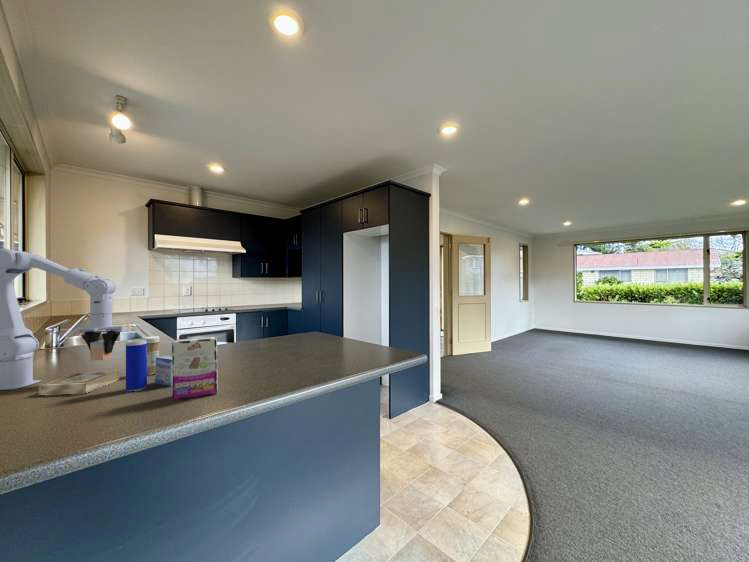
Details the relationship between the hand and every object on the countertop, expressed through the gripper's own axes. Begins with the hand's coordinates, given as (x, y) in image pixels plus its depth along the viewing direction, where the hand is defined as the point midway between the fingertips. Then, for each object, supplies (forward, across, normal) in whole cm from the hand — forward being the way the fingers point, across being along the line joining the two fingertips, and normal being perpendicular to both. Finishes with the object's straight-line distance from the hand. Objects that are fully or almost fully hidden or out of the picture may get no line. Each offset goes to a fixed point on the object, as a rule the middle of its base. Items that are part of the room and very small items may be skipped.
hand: (101, 353), depth 105 cm
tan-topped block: (+2, 0, 0) cm, 2 cm away
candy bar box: (+9, +41, -20) cm, 46 cm away
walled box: (+9, +1, -9) cm, 13 cm away
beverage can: (+9, +20, -13) cm, 25 cm away
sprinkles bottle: (+9, +14, +4) cm, 17 cm away
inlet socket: (+9, +1, -9) cm, 13 cm away
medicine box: (+9, +27, -8) cm, 29 cm away
